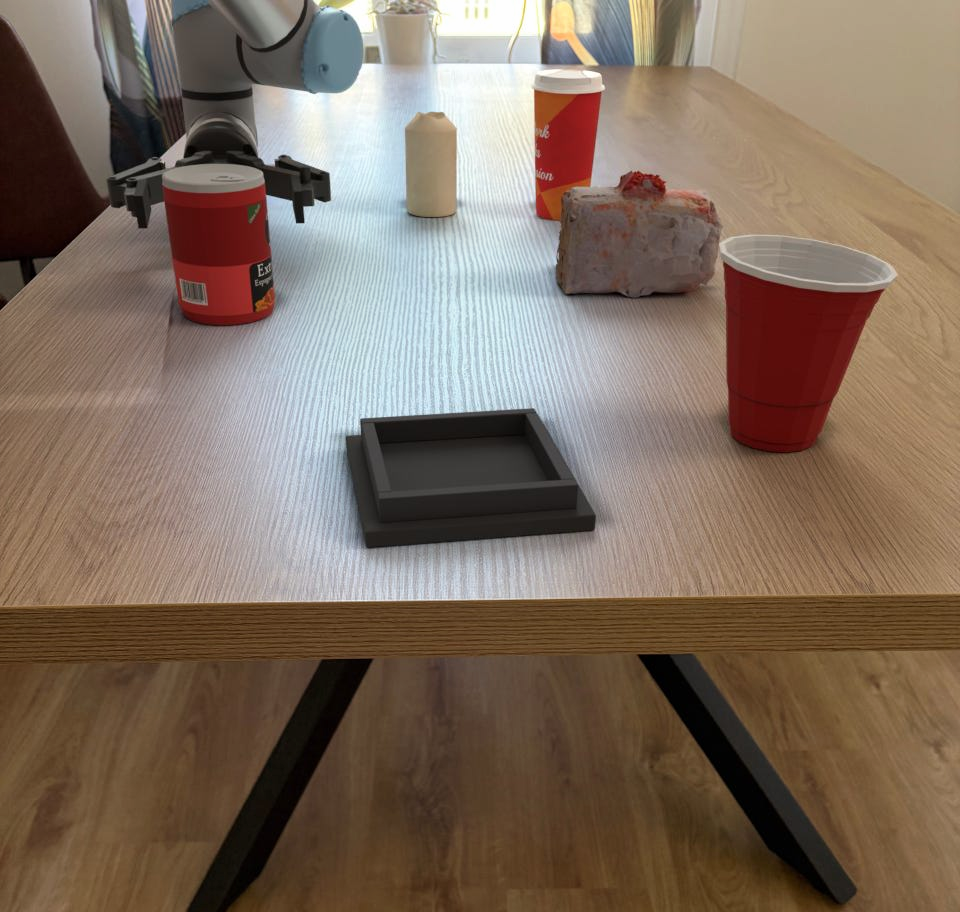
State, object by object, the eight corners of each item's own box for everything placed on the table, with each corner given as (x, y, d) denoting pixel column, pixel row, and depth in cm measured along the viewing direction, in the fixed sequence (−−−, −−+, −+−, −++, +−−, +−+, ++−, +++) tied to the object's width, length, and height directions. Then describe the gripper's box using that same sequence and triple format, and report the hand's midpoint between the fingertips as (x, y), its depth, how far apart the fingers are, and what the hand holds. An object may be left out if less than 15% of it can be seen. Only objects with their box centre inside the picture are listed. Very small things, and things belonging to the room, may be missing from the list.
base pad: (366, 548, 61) (364, 507, 60) (346, 449, 72) (344, 413, 71) (595, 530, 63) (598, 490, 62) (543, 437, 74) (545, 401, 73)
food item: (695, 274, 105) (709, 162, 100) (717, 300, 99) (733, 182, 93) (551, 275, 104) (557, 162, 99) (564, 302, 98) (571, 182, 92)
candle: (437, 220, 121) (437, 119, 115) (396, 212, 123) (394, 113, 117) (466, 210, 124) (466, 112, 119) (425, 203, 127) (424, 106, 121)
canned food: (277, 324, 92) (264, 183, 86) (177, 328, 91) (157, 185, 84) (275, 296, 98) (263, 162, 92) (182, 299, 97) (163, 164, 91)
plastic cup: (885, 468, 71) (931, 276, 64) (717, 472, 70) (745, 278, 63) (827, 402, 80) (862, 228, 73) (678, 404, 79) (699, 229, 72)
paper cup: (532, 203, 127) (538, 66, 119) (599, 208, 126) (609, 70, 118) (520, 220, 121) (525, 77, 113) (591, 225, 120) (601, 80, 112)
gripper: (345, 194, 119) (365, 248, 102) (102, 201, 115) (80, 259, 98) (341, 117, 115) (361, 160, 98) (89, 122, 111) (63, 167, 94)
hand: (220, 210), depth 98 cm, fingers open, 13 cm apart
